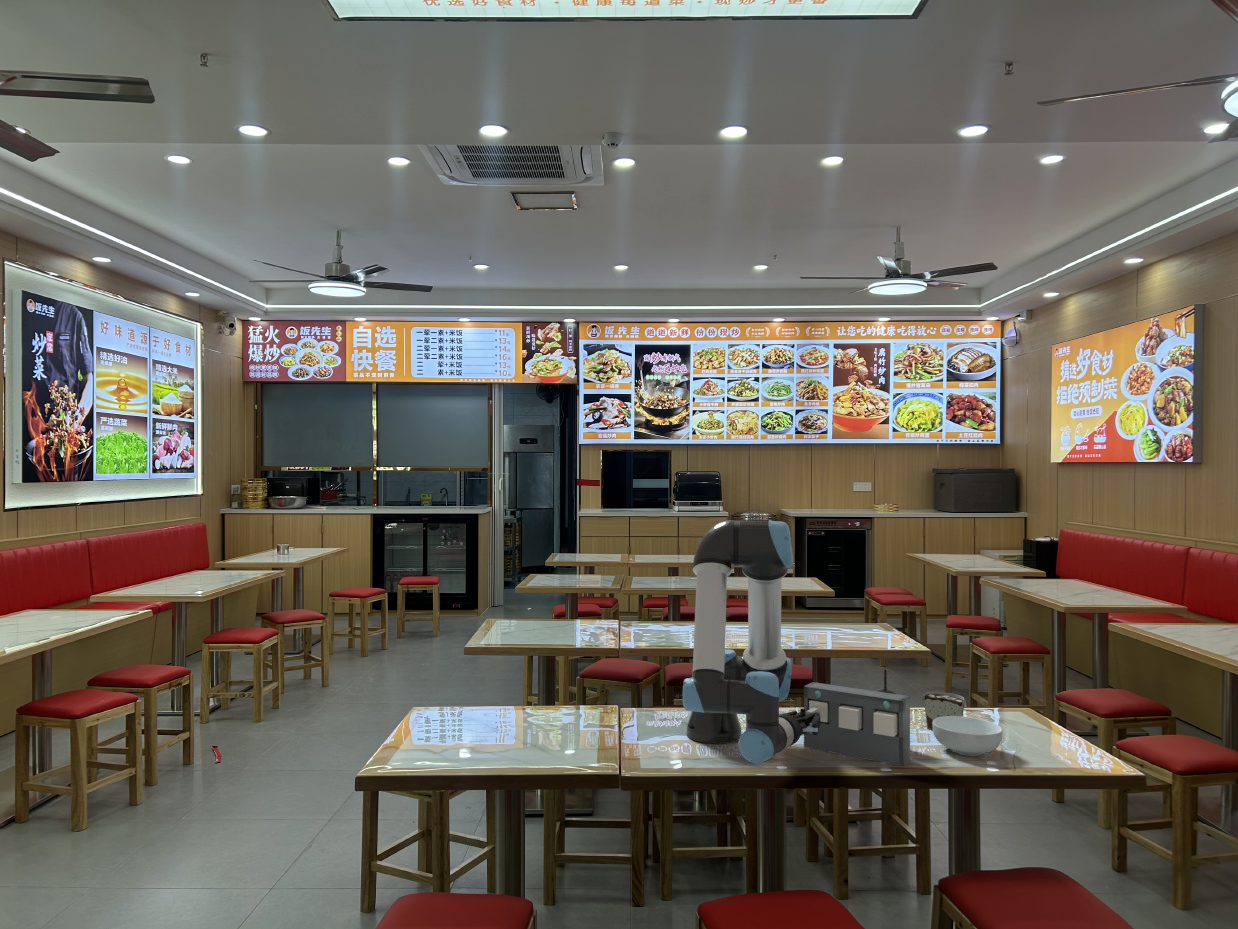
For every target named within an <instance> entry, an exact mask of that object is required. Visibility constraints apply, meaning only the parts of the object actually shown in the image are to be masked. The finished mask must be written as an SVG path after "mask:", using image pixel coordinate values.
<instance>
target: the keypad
mask: <svg viewBox="0 0 1238 929" xmlns="http://www.w3.org/2000/svg"><path fill="white" fill-rule="evenodd" d="M811 699H816V700H822V701H829V722H821V721H820V727H819V728H818V735H813V734H812V733H810V732H807V733H806V734H803V748H806V749H807V748H808V749H813V750H818V751H824V752H829V753H833V754H839V755H843V756H849V757H855V758H858V759H863V760H864V759H865V760H869V761H874V762H879V763H884V764H890V765H895V766H901V767H904V766H905V765H906V764H908V763H909V762H910V760H911V696H910V695H905V694H904V695H903V694H900V695H897V694H891V693H884V692H877V691H875V690H869V689H863V688H856V687H855V688H854V687H850V686H849V687H848V686H843V685H835V684H828V683H822V682H821V683H820V682H814V681H812V682H810V683H808V684H806V685H804V686H803V709H805V711H807V710H809V700H811ZM844 704H845V705H851V706H857V707H863V728H861V729H860V730H858V731H857V730H852V729H846V728H840V727H839V707H841V706H842V705H844ZM878 710H883V711H889V712H895V713H899V733H898V734H897V735H896V736H894V737H891V736H886V735H880V734H874V713H875V712H876V711H878Z"/></svg>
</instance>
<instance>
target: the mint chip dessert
mask: <svg viewBox="0 0 1238 929" xmlns="http://www.w3.org/2000/svg"><path fill="white" fill-rule="evenodd" d="M921 701H923V704H924V712H925V724H926V730H931V731H933V727H932V725H933V724H932V723H933V720H934V719H936V718H939V717H945V716H963V717H964V711H965V709H966V708H967V707H968V706H967V701H966V699H965V697H964V696H962V695H959V694H957V693H952V692H942V691H941V692H940V691H928V692H924V693H923V695H922V697H921Z"/></svg>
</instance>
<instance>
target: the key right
mask: <svg viewBox="0 0 1238 929" xmlns="http://www.w3.org/2000/svg"><path fill="white" fill-rule="evenodd" d="M898 733H899V713H895V712H889V711H883V710H878V711H876V712H875V713H874V734H880V735H886V736H891V737H894V736H896V735H897V734H898Z"/></svg>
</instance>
